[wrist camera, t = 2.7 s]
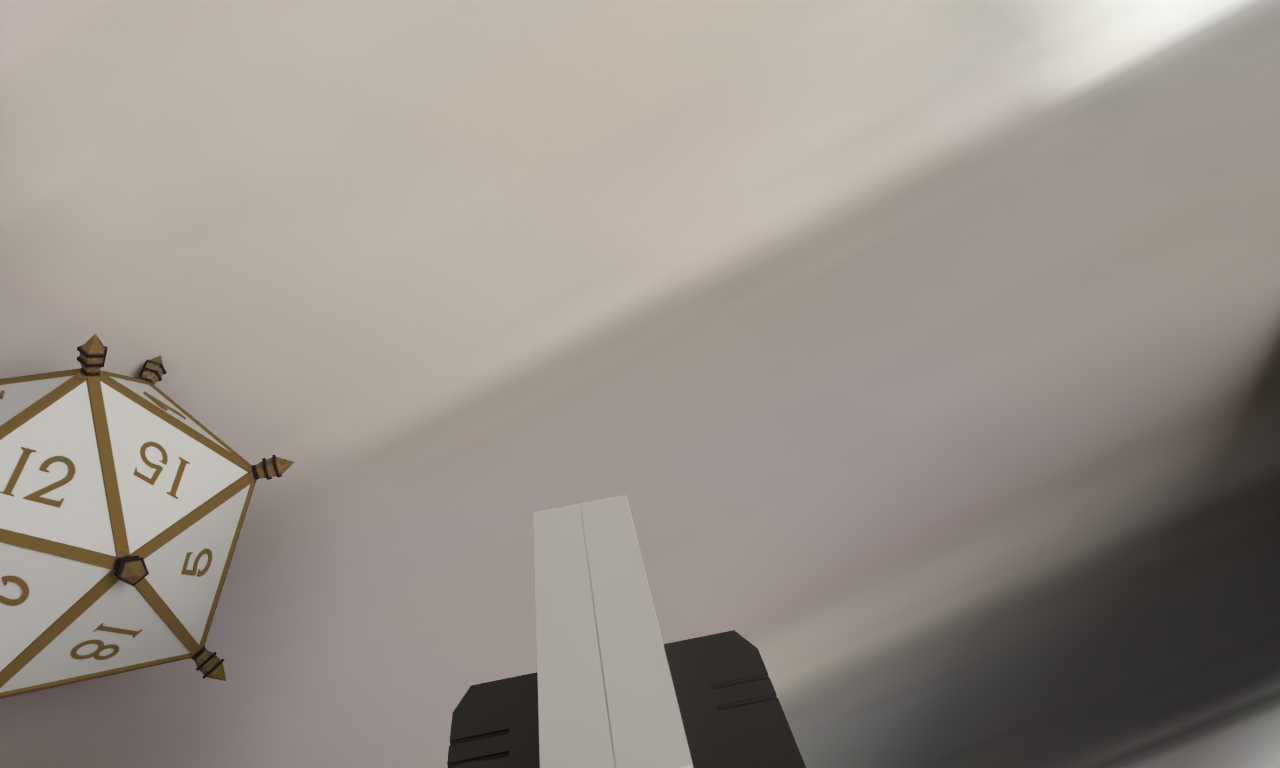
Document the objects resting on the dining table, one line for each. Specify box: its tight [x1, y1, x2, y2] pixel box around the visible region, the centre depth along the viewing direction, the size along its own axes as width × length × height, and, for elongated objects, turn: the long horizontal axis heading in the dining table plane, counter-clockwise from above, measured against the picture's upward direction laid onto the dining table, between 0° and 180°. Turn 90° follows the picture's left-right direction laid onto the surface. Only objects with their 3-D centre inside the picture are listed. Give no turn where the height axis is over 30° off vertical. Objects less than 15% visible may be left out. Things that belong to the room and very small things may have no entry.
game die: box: [0, 334, 294, 699], centre depth 23 cm, size 9×8×10 cm
